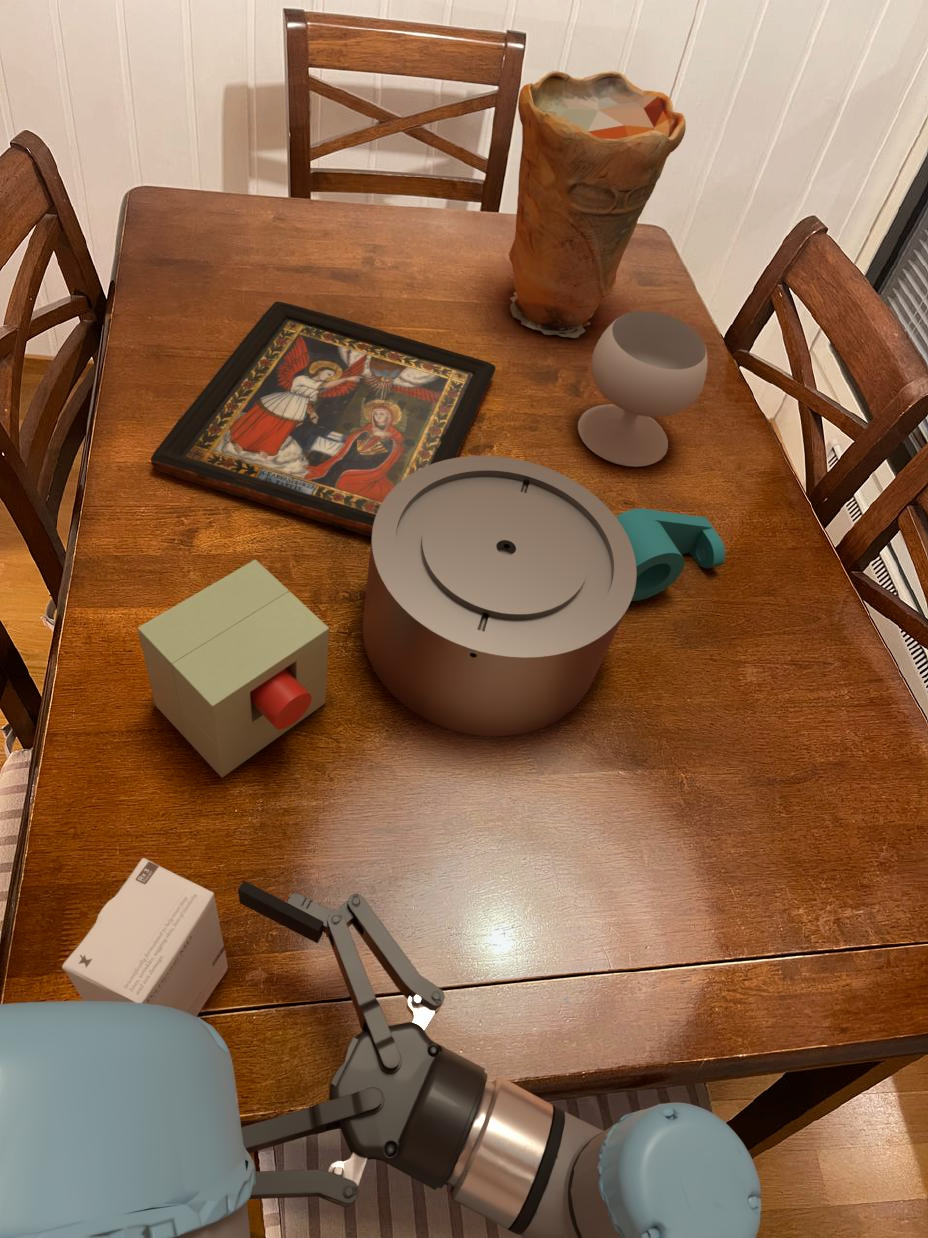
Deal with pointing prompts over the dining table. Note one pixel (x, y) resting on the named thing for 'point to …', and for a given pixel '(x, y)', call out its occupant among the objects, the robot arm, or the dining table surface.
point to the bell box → (232, 662)
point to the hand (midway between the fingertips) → (185, 978)
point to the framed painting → (324, 416)
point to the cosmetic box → (152, 944)
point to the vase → (582, 190)
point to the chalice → (642, 385)
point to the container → (493, 593)
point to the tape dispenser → (668, 546)
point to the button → (281, 700)
